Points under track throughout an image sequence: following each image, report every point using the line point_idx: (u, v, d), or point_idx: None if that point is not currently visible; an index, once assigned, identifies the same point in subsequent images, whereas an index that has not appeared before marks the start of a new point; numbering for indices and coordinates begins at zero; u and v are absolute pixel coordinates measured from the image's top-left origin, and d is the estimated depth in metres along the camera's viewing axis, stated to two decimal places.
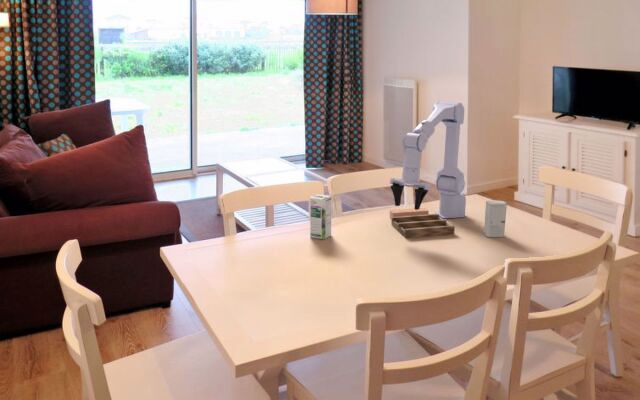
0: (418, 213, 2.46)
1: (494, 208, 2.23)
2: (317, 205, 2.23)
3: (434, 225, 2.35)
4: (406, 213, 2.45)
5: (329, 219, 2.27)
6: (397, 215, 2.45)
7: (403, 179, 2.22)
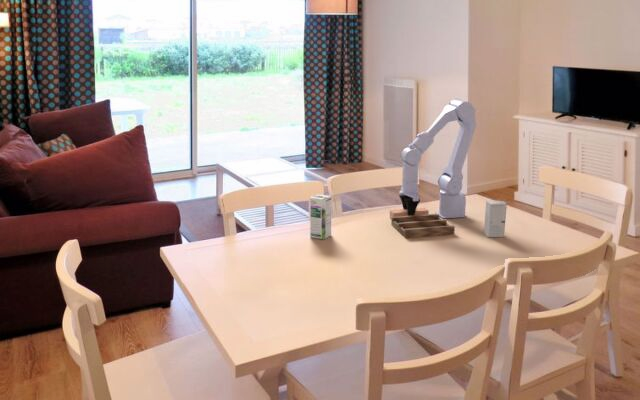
0: (418, 213, 2.46)
1: (494, 208, 2.23)
2: (317, 205, 2.23)
3: (434, 225, 2.35)
4: (406, 213, 2.45)
5: (329, 219, 2.27)
6: (397, 215, 2.45)
7: (402, 189, 2.46)
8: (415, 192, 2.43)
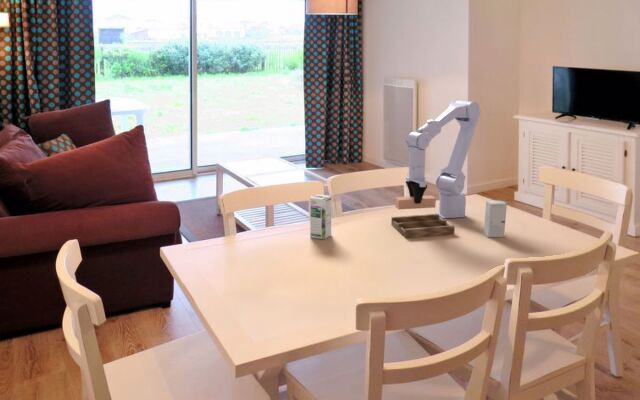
0: (425, 200, 2.38)
1: (494, 208, 2.23)
2: (317, 205, 2.23)
3: (434, 225, 2.35)
4: (412, 200, 2.37)
5: (329, 219, 2.27)
6: (403, 202, 2.37)
7: (408, 175, 2.38)
8: (422, 178, 2.35)
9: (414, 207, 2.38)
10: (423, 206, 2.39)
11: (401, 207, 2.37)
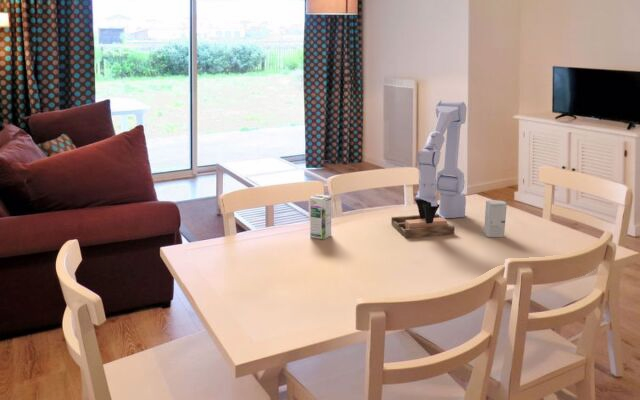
0: (436, 223, 2.29)
1: (494, 208, 2.23)
2: (317, 205, 2.23)
3: None
4: (423, 223, 2.28)
5: (329, 219, 2.27)
6: (414, 226, 2.28)
7: (419, 193, 2.29)
8: (433, 196, 2.26)
9: None
10: None
11: None
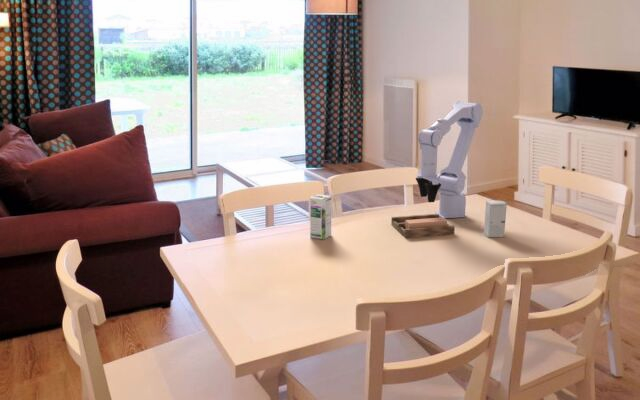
0: (436, 223, 2.29)
1: (494, 208, 2.23)
2: (317, 205, 2.23)
3: None
4: (423, 223, 2.28)
5: (329, 219, 2.27)
6: (414, 226, 2.28)
7: (420, 173, 2.37)
8: (434, 175, 2.34)
9: None
10: None
11: None
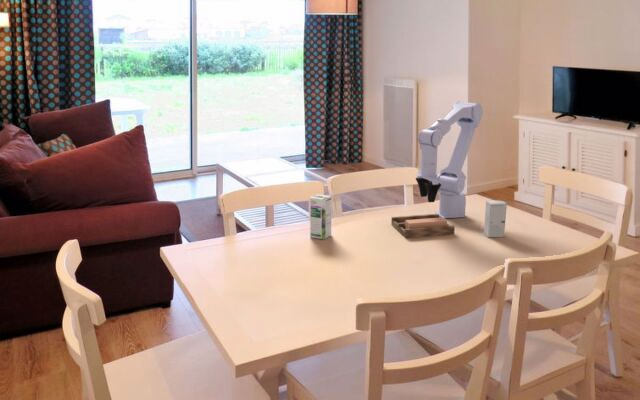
0: (436, 223, 2.29)
1: (494, 208, 2.23)
2: (317, 205, 2.23)
3: None
4: (423, 223, 2.28)
5: (329, 219, 2.27)
6: (414, 226, 2.28)
7: (420, 173, 2.37)
8: (434, 175, 2.34)
9: None
10: None
11: None
